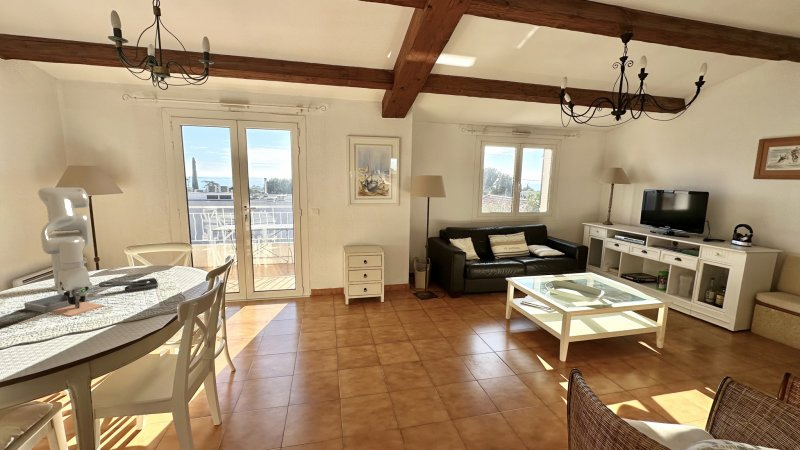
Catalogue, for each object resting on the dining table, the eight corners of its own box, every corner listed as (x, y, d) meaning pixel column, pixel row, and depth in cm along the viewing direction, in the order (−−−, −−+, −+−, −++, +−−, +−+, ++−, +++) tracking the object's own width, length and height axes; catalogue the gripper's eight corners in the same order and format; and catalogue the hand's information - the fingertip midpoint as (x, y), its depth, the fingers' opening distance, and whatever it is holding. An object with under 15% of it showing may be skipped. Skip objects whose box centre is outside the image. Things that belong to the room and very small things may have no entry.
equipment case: (84, 293, 178) (84, 287, 177) (104, 296, 173) (104, 291, 173) (25, 309, 156) (24, 302, 155) (46, 313, 151) (45, 307, 151)
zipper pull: (98, 281, 177) (156, 273, 194) (100, 293, 178) (157, 284, 194) (98, 285, 171) (157, 277, 187) (99, 298, 171) (158, 288, 188)
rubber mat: (84, 302, 164) (84, 301, 164) (103, 306, 160) (103, 305, 160) (50, 312, 152) (50, 311, 152) (70, 316, 148) (70, 315, 148)
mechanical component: (82, 310, 154) (80, 289, 152) (65, 308, 156) (63, 287, 155) (89, 308, 156) (87, 287, 155) (73, 305, 159) (71, 285, 157)
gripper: (88, 260, 162) (92, 296, 165) (44, 268, 147) (49, 308, 149) (98, 262, 160) (102, 298, 162) (55, 270, 145) (60, 310, 147)
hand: (77, 302), depth 156 cm, fingers closed on mechanical component, 3 cm apart
